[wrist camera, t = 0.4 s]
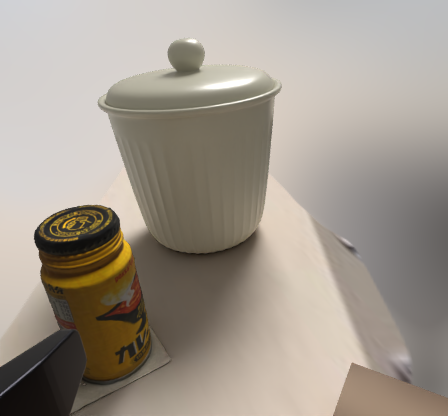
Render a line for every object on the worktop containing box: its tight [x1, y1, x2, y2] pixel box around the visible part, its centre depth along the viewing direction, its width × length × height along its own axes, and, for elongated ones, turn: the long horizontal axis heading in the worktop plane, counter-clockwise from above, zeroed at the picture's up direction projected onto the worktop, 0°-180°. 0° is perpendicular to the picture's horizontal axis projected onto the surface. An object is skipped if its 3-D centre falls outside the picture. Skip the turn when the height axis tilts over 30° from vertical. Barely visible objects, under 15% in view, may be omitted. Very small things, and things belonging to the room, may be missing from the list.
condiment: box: [34, 205, 171, 413], centre depth 27 cm, size 7×8×12 cm
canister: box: [98, 38, 282, 254], centre depth 41 cm, size 18×18×21 cm
